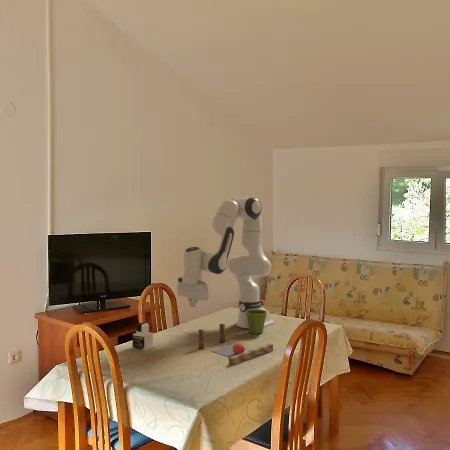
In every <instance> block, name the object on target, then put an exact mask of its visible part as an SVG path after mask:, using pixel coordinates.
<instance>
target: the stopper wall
mask: <svg viewBox="0 0 450 450" xmlns="http://www.w3.org/2000/svg"><path fill="white" fill-rule="evenodd" d="M249 350H250V351H247V352H244V353H241V354H238V355H235V356H232V357H228V365H230V366H235V365H238V364H240V363H243V362H246V361H249V360H251V358H252V359H254V358H257V357H259V355H260V356H262V355H261V354H263V355H265V354H268V353H271V352H273V351H274V344H273V343H268V344H265V345H261V346H259V347H256V348H253V349H249ZM270 351H271V352H270ZM256 356H257V357H256ZM253 357H254V358H253ZM248 359H249V360H248ZM245 360H246V361H245ZM237 363H238V364H237Z"/></svg>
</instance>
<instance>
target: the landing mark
mask: <svg viewBox="0 0 450 450" xmlns="http://www.w3.org/2000/svg"><path fill="white" fill-rule="evenodd" d="M234 345H235V344H230V345H227V346H224V347H221V348H218V349H217V348H216V349H214V350H211V352H212V353H215V354H218V355H221V356H224V357H228V358H229V357H232V356H235V355H236V354H234V352H233V346H234ZM245 350H248V351H250V350H251V349H249V348H245ZM246 352H247V351H246Z"/></svg>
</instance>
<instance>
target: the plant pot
mask: <svg viewBox="0 0 450 450" xmlns="http://www.w3.org/2000/svg"><path fill="white" fill-rule="evenodd" d="M265 310H266V309H265ZM265 310H260V309H251V310H247V311H245V312H246V314H247V319H248V326H249V328H248V331H249V333H250V334H253V335H258V334H262V333H263V334H264V329H265V327H264V323H265V318H266V314H267V311H268V310H266V311H265Z"/></svg>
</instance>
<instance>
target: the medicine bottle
mask: <svg viewBox="0 0 450 450" xmlns="http://www.w3.org/2000/svg"><path fill="white" fill-rule="evenodd" d="M135 326H136V327H135V331H136V332H135V333H133V334H132V349H133V350H139V351H143V352H145V351H147V350H149V349H151V348H153V347H154V332H150V324H149V323H147V322H138V323H136V325H135Z"/></svg>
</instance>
